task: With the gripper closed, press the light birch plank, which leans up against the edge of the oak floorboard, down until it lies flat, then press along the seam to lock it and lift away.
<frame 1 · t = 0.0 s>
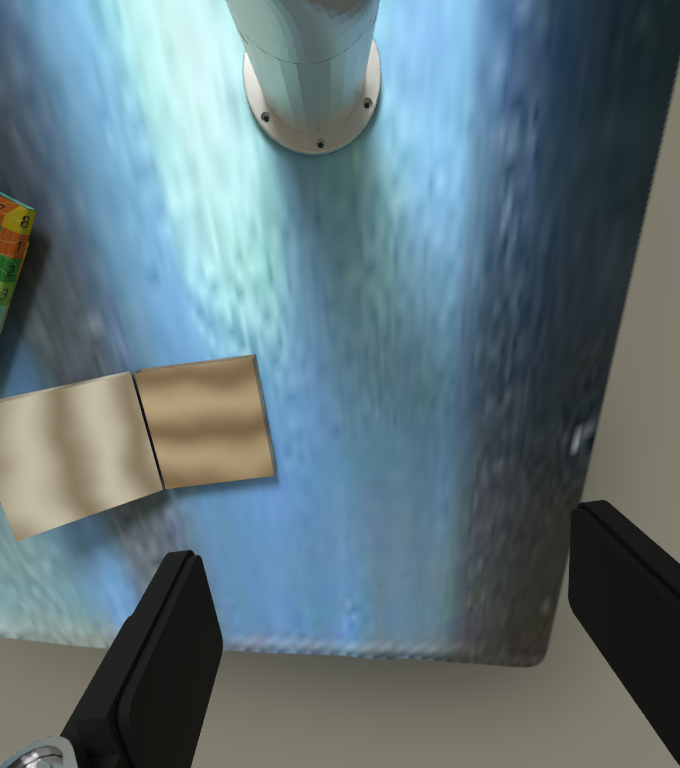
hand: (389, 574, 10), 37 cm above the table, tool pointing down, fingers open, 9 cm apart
oak floorboard: (155, 427, 48), on the table
birch plank: (75, 452, 44), point 5 cm above the table, hinge at 30.0°
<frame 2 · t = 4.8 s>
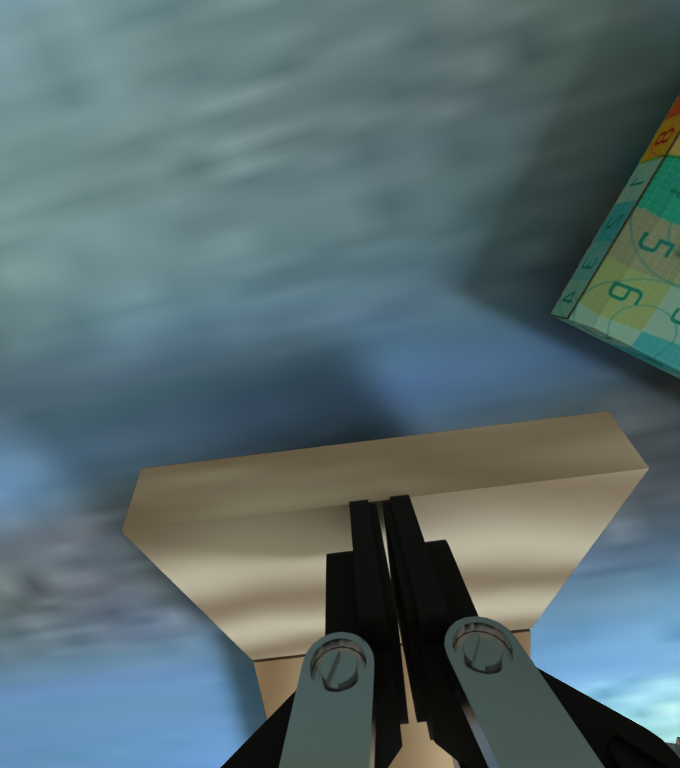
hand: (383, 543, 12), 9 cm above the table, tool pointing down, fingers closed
oak floorboard: (385, 610, 23), on the table
birch plank: (383, 567, 17), point 5 cm above the table, hinge at 28.2°, touching gripper
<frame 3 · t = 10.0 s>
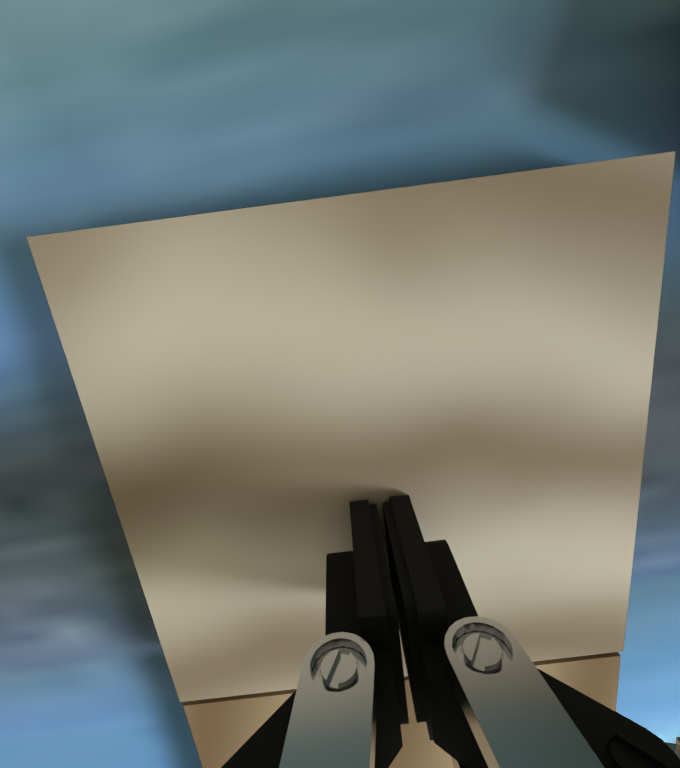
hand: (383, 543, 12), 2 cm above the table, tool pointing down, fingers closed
oak floorboard: (390, 621, 15), on the table
birch plank: (374, 463, 12), point 1 cm above the table, hinge at 1.0°, touching gripper
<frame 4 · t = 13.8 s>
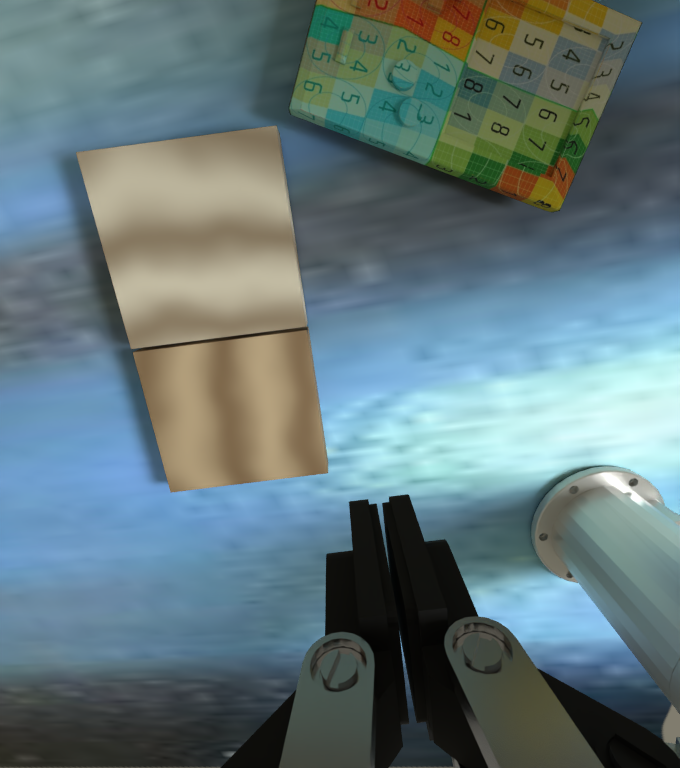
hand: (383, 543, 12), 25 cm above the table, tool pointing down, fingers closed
oak floorboard: (224, 333, 35), on the table
puzzle game: (446, 90, 31), on the table
birch plank: (202, 245, 32), point 1 cm above the table, hinge at 1.0°
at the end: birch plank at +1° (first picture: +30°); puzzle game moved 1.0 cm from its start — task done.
